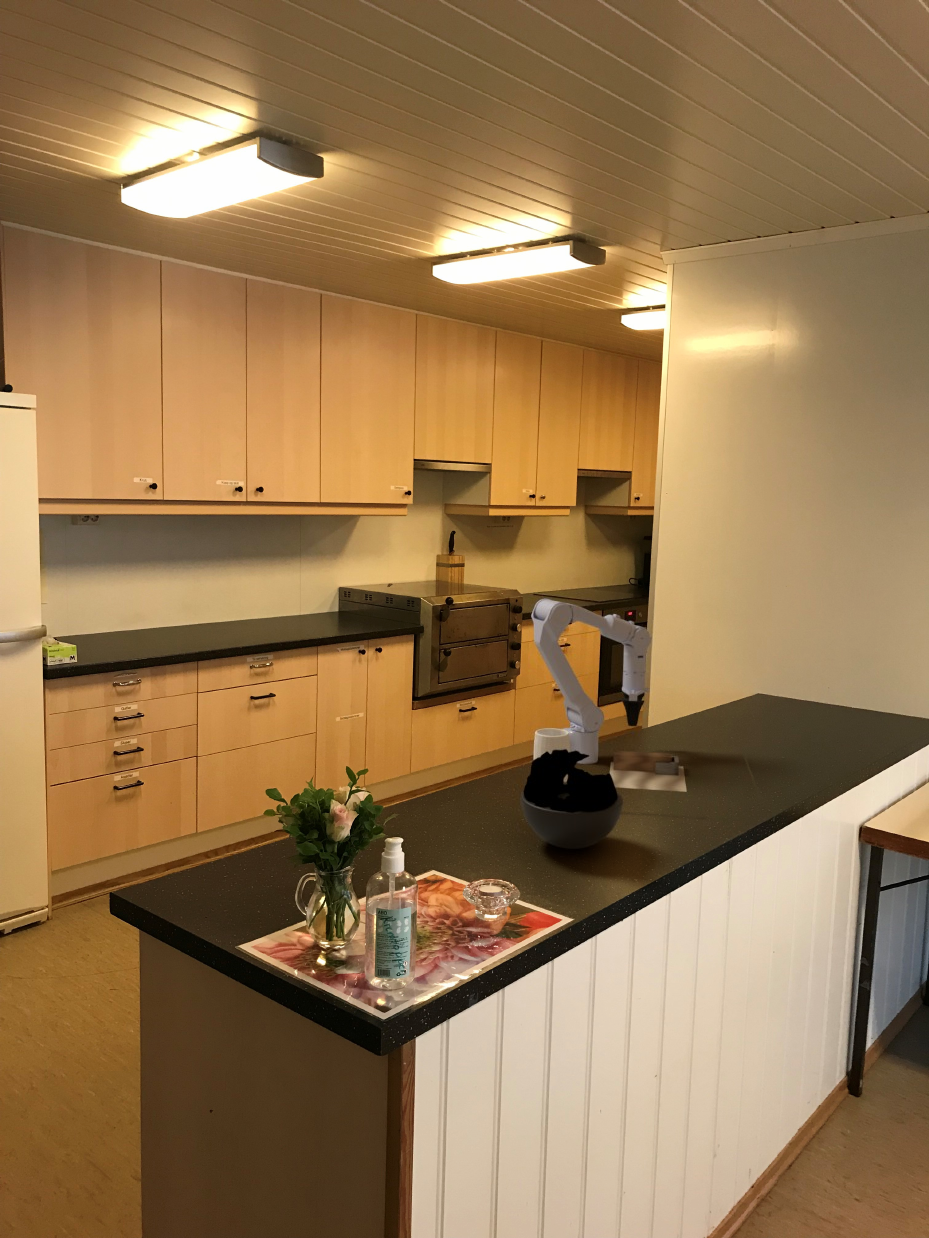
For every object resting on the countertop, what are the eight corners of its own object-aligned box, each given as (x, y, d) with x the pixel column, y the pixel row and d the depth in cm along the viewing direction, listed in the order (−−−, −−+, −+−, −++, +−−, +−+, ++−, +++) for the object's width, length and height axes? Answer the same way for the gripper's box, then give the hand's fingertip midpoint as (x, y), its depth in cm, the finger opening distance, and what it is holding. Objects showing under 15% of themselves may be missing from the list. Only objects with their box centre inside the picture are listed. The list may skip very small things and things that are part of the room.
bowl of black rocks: (556, 821, 208) (558, 735, 206) (640, 843, 196) (643, 751, 193) (499, 847, 193) (500, 754, 190) (586, 873, 180) (588, 774, 178)
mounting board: (607, 789, 230) (608, 786, 230) (610, 765, 251) (610, 762, 251) (686, 794, 227) (686, 791, 227) (683, 769, 248) (683, 766, 248)
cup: (567, 798, 224) (568, 737, 222) (530, 795, 225) (531, 735, 224) (570, 787, 232) (572, 728, 230) (535, 785, 234) (536, 726, 232)
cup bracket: (655, 774, 241) (655, 762, 240) (654, 766, 247) (655, 754, 247) (678, 775, 240) (679, 763, 239) (677, 767, 246) (678, 756, 246)
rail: (613, 769, 244) (613, 754, 244) (613, 766, 247) (614, 750, 247) (671, 773, 242) (671, 757, 241) (670, 769, 245) (671, 753, 244)
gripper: (649, 677, 247) (648, 729, 249) (650, 666, 262) (648, 716, 263) (621, 675, 249) (620, 728, 251) (623, 665, 263) (621, 715, 265)
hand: (632, 722), depth 257 cm, fingers open, 7 cm apart
